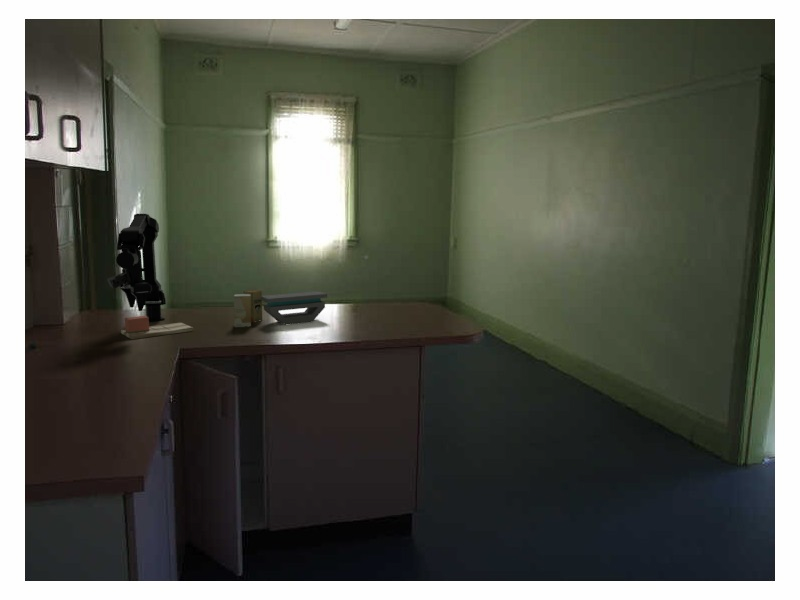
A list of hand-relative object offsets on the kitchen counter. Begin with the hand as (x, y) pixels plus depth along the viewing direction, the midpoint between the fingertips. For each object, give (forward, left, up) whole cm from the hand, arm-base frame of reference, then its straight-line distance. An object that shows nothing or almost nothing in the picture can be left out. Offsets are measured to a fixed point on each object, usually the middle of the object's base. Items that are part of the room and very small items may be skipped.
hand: (136, 309), depth 217 cm
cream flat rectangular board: (0, +7, -9) cm, 12 cm away
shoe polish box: (+3, +44, -10) cm, 45 cm away
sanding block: (0, 0, -8) cm, 8 cm away
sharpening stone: (+15, +56, -10) cm, 59 cm away
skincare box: (+10, +36, -10) cm, 39 cm away
